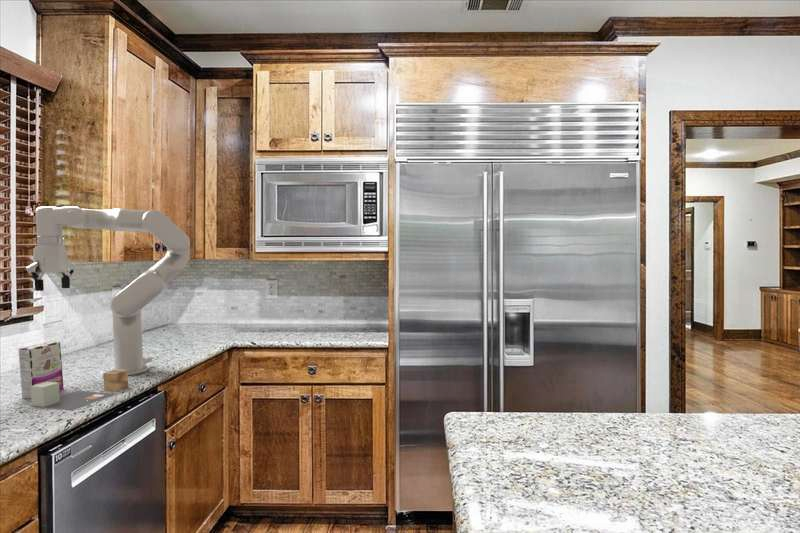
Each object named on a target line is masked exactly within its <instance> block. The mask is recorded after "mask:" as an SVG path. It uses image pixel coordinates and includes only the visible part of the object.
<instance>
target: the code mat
mask: <svg viewBox="0 0 800 533" xmlns="http://www.w3.org/2000/svg"><path fill="white" fill-rule="evenodd" d="M94 394H95V395H94ZM116 395H118V393H109V392H98V391H97V392H96V391H85V390H74V391H72V392H69V393H65V394H63V395H60V402H57V403H54V404H51V405H48V406H45V407H40V406H32V404H31V405H30V407H33V408H44V409H52V410H61V411H62V410H63V411H74V410H76V409H79V408H82V407H86V406H88V405H91V404H94V403H97V402H100V401H102V400H105V399H108V398H110V397H114V396H116ZM87 400H88V401H87Z"/></svg>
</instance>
